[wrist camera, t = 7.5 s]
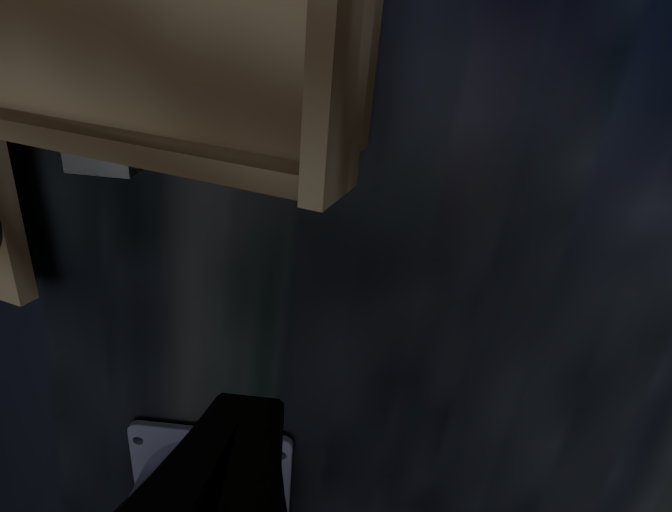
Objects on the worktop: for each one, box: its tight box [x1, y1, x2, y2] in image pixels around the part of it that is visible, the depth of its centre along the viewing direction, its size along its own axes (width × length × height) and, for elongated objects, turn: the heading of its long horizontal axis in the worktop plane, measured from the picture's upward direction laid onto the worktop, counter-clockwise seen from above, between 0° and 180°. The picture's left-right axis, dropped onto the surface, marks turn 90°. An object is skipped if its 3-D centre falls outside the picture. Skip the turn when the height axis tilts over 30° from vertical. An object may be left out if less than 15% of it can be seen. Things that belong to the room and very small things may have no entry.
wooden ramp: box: [0, 0, 384, 307], centre depth 16 cm, size 13×16×5 cm
